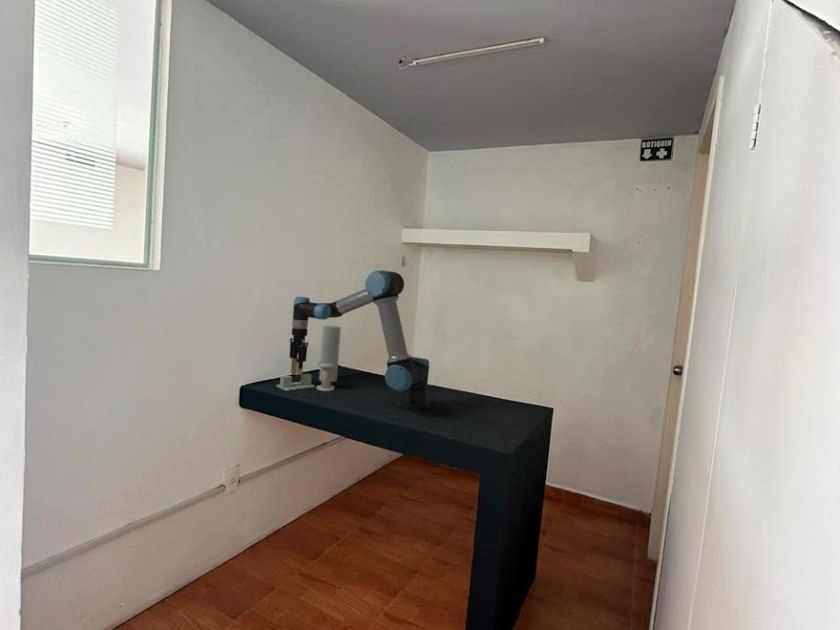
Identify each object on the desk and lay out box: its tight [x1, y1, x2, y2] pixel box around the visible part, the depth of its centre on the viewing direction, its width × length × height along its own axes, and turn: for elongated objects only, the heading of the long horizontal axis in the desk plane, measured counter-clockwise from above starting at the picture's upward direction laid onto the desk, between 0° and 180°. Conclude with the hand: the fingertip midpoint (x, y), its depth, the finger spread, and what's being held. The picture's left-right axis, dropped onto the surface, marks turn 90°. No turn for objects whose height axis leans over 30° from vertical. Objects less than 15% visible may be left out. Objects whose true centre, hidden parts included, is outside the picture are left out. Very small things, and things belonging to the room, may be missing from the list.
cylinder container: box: [319, 325, 342, 383], centre depth 245 cm, size 9×9×30 cm
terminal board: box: [276, 372, 316, 392], centre depth 226 cm, size 10×16×6 cm, turn 137°
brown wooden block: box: [290, 357, 304, 376], centre depth 225 cm, size 4×4×8 cm
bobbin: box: [316, 361, 336, 392], centre depth 227 cm, size 9×9×13 cm
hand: (296, 373), depth 225 cm, fingers closed on brown wooden block, 4 cm apart
